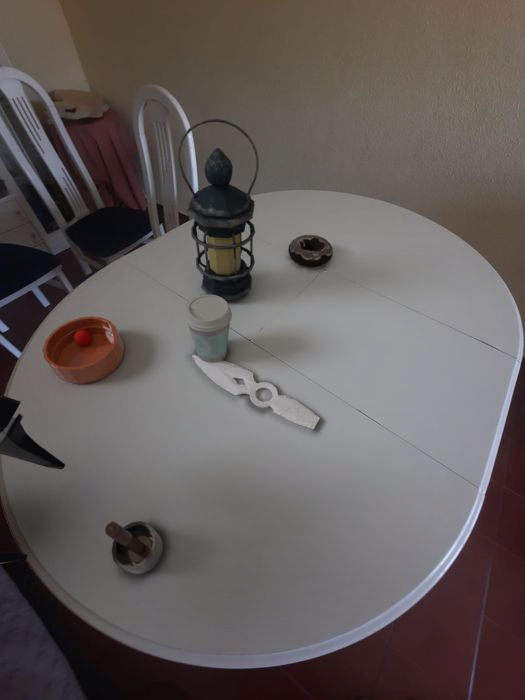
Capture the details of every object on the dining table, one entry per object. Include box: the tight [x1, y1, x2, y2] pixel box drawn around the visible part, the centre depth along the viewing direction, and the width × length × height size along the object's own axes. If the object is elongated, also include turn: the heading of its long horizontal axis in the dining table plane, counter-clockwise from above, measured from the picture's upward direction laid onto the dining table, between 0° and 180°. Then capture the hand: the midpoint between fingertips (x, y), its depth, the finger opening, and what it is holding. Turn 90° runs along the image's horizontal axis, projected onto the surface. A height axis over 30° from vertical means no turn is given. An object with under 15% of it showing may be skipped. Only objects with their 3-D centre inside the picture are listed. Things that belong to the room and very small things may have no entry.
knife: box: [191, 354, 320, 430], centre depth 64 cm, size 6×28×1 cm, turn 58°
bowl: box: [42, 315, 125, 385], centre depth 66 cm, size 13×13×5 cm
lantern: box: [177, 118, 259, 301], centre depth 68 cm, size 14×13×35 cm
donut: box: [287, 234, 334, 269], centre depth 89 cm, size 12×12×4 cm
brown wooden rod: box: [104, 521, 152, 564], centre depth 41 cm, size 3×3×13 cm
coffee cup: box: [184, 294, 233, 363], centre depth 65 cm, size 8×8×12 cm
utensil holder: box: [111, 520, 164, 575], centre depth 45 cm, size 5×5×4 cm
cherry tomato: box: [74, 330, 92, 346], centre depth 68 cm, size 3×3×3 cm
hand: (46, 508), depth 37 cm, fingers open, 9 cm apart
